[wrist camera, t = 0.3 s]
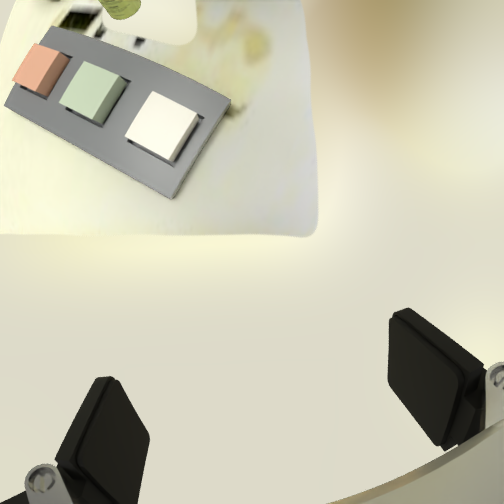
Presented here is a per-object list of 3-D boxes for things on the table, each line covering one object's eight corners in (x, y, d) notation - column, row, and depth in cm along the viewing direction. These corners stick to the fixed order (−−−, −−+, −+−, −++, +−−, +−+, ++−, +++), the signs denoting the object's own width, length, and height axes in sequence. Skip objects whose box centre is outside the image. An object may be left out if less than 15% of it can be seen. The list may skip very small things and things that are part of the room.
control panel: (58, 31, 29) (51, 25, 26) (230, 104, 35) (231, 99, 32) (12, 108, 31) (3, 105, 28) (173, 198, 37) (170, 199, 34)
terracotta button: (45, 50, 28) (34, 43, 24) (70, 59, 29) (59, 51, 25) (24, 85, 28) (11, 80, 25) (47, 96, 30) (35, 91, 26)
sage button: (94, 69, 30) (84, 61, 26) (127, 83, 31) (119, 75, 28) (70, 108, 31) (58, 102, 27) (102, 124, 32) (92, 119, 28)
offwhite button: (158, 98, 32) (152, 90, 29) (199, 119, 33) (197, 113, 30) (133, 140, 33) (124, 136, 29) (173, 162, 34) (168, 160, 31)
